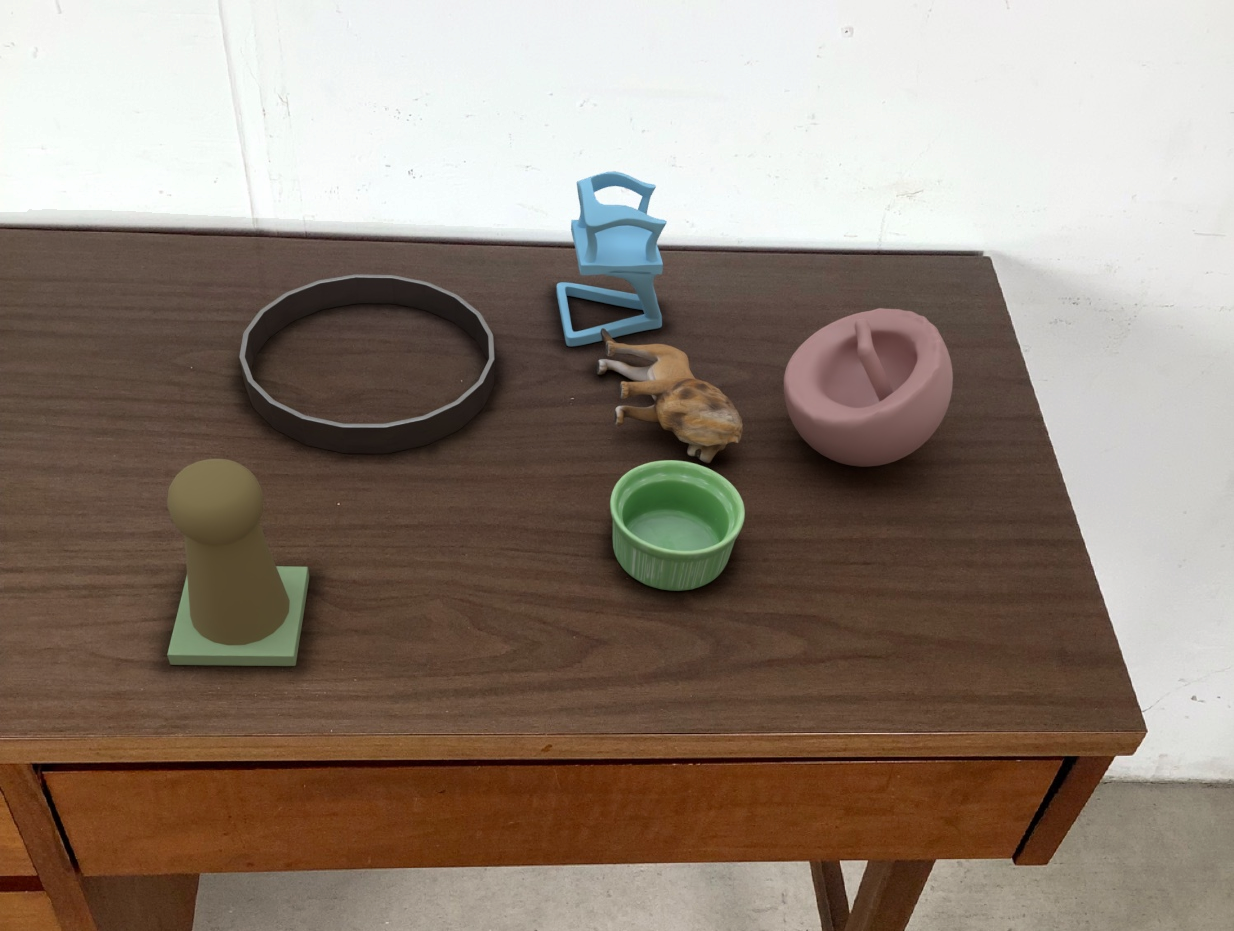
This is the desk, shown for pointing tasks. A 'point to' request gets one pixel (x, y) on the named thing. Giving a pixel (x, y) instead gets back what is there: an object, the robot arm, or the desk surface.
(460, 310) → the ring
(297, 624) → the green mat
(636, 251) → the chair
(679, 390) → the lion figurine
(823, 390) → the mortar and pestle
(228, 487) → the olive pawn
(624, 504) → the ramekin
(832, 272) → the desk surface
